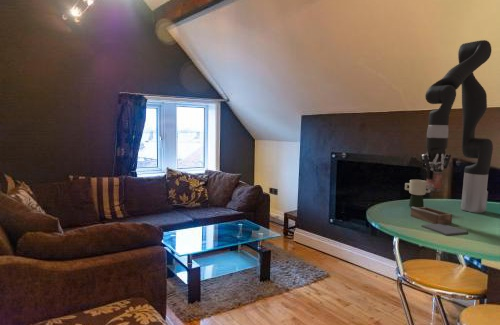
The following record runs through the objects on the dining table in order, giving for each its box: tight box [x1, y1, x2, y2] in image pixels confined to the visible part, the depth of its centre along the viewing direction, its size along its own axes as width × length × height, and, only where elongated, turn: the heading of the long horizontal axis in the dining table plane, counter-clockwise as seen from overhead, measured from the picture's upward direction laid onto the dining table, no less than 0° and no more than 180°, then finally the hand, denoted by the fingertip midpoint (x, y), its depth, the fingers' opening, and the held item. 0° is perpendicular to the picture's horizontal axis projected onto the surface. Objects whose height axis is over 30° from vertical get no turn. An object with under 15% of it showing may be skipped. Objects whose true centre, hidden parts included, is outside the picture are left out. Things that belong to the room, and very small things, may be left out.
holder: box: [410, 206, 453, 225], centre depth 141 cm, size 8×13×4 cm, turn 18°
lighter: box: [426, 164, 444, 192], centre depth 140 cm, size 8×3×10 cm, turn 5°
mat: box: [421, 223, 469, 236], centre depth 127 cm, size 10×11×1 cm
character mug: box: [404, 179, 432, 208], centre depth 161 cm, size 11×7×13 cm, turn 56°
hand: (433, 179), depth 140 cm, fingers closed on lighter, 4 cm apart
